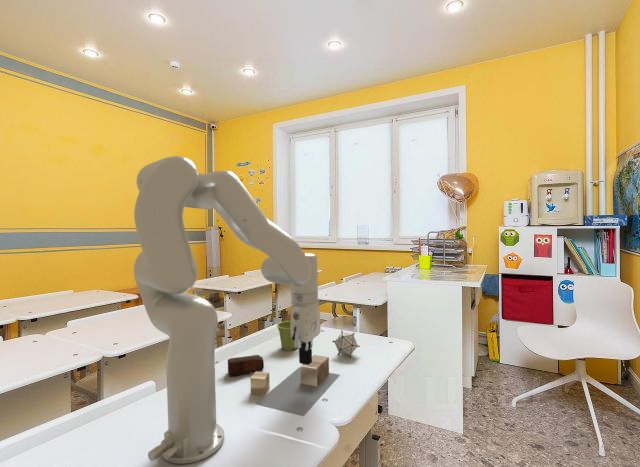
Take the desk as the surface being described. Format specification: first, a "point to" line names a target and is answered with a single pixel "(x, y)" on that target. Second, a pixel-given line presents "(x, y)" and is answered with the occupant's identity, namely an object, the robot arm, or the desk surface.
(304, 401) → the mat
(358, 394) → the desk surface
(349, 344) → the spiked icosahedron
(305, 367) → the walnut block
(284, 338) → the plant pot
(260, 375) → the beech block
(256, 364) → the brick
